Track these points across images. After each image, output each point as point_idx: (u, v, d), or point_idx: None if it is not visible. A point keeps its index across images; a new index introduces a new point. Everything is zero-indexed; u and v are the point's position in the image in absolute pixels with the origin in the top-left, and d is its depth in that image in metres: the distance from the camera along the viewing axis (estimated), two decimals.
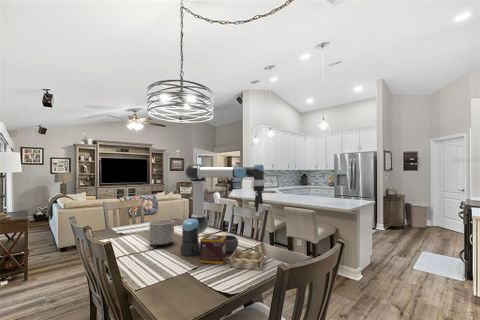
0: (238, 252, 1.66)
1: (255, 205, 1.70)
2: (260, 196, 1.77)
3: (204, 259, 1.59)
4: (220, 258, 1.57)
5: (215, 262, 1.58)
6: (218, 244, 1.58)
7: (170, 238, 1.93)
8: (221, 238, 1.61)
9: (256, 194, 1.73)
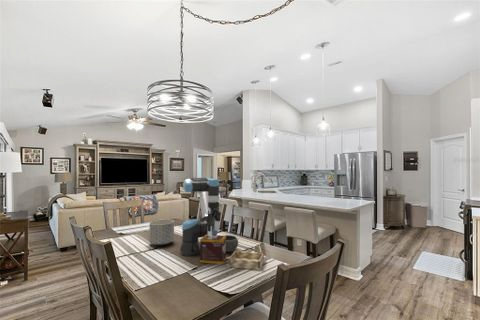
0: (238, 252, 1.66)
1: (207, 224, 1.54)
2: (214, 214, 1.61)
3: (204, 259, 1.59)
4: (220, 258, 1.57)
5: (215, 262, 1.58)
6: (218, 244, 1.58)
7: (170, 238, 1.93)
8: (221, 238, 1.61)
9: (209, 212, 1.58)
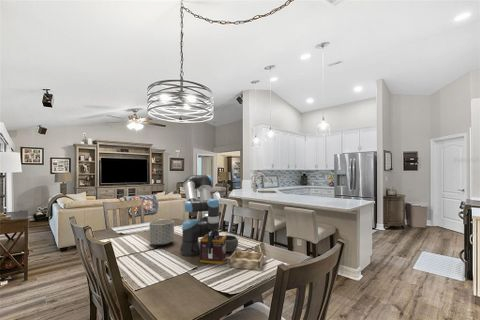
0: (238, 252, 1.66)
1: (207, 247, 1.55)
2: (214, 235, 1.61)
3: (204, 259, 1.59)
4: (220, 258, 1.57)
5: (215, 262, 1.58)
6: (218, 244, 1.58)
7: (170, 238, 1.93)
8: (221, 238, 1.61)
9: (209, 234, 1.57)
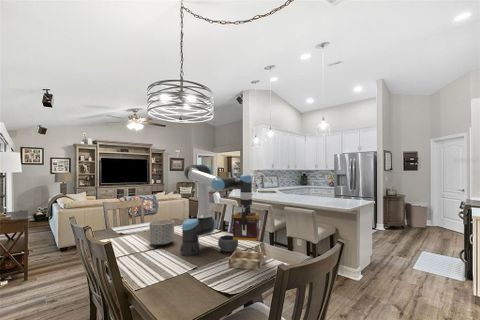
0: (238, 252, 1.66)
1: (242, 223, 1.50)
2: (248, 211, 1.56)
3: (237, 236, 1.54)
4: (254, 235, 1.52)
5: (249, 239, 1.52)
6: (253, 220, 1.52)
7: (170, 238, 1.93)
8: (255, 214, 1.55)
9: (243, 210, 1.52)
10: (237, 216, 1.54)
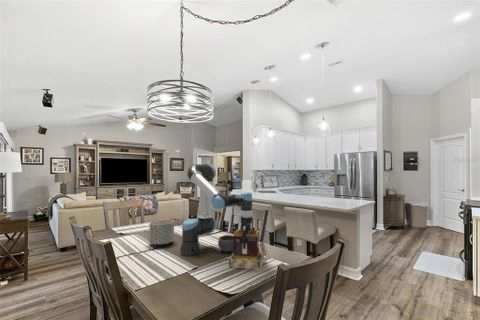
0: None
1: (242, 242, 1.49)
2: (248, 229, 1.55)
3: (238, 254, 1.54)
4: (255, 253, 1.51)
5: (250, 257, 1.52)
6: (253, 239, 1.52)
7: (170, 238, 1.93)
8: (255, 233, 1.55)
9: (243, 229, 1.52)
10: (237, 234, 1.54)
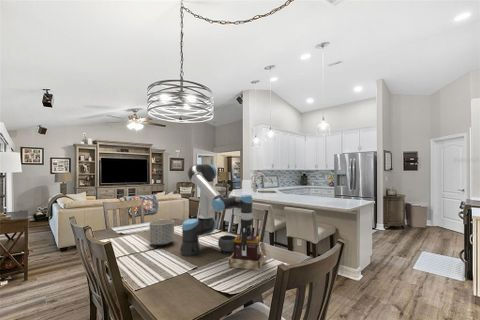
0: None
1: (242, 244, 1.48)
2: (248, 232, 1.55)
3: None
4: (255, 260, 1.52)
5: None
6: (253, 245, 1.52)
7: (170, 238, 1.93)
8: (255, 239, 1.55)
9: (243, 230, 1.52)
10: (237, 241, 1.54)
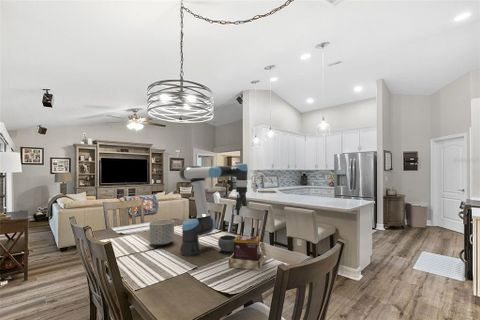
0: None
1: (236, 208, 1.55)
2: (242, 198, 1.62)
3: None
4: (255, 260, 1.52)
5: None
6: (253, 245, 1.52)
7: (170, 238, 1.93)
8: (255, 239, 1.55)
9: (238, 196, 1.58)
10: (237, 241, 1.54)
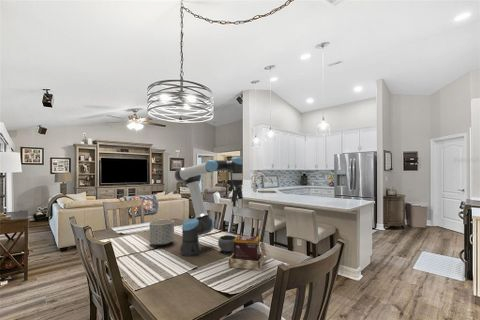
0: None
1: (232, 200, 1.61)
2: (238, 190, 1.68)
3: None
4: (255, 260, 1.52)
5: None
6: (253, 245, 1.52)
7: (170, 238, 1.93)
8: (255, 239, 1.55)
9: (234, 188, 1.64)
10: (237, 241, 1.54)
